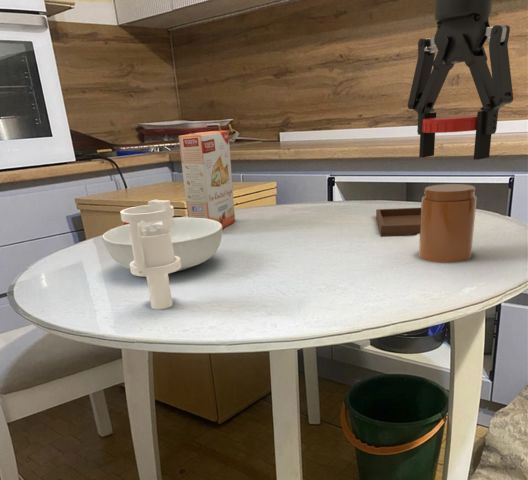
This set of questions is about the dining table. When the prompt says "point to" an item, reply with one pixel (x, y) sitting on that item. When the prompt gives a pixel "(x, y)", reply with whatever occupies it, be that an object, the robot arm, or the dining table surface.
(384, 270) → the dining table surface
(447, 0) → the robot arm
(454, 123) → the lid
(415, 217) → the tray
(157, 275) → the white framed cylinder holder
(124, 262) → the serving bowl
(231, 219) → the cracker box
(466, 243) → the jar
